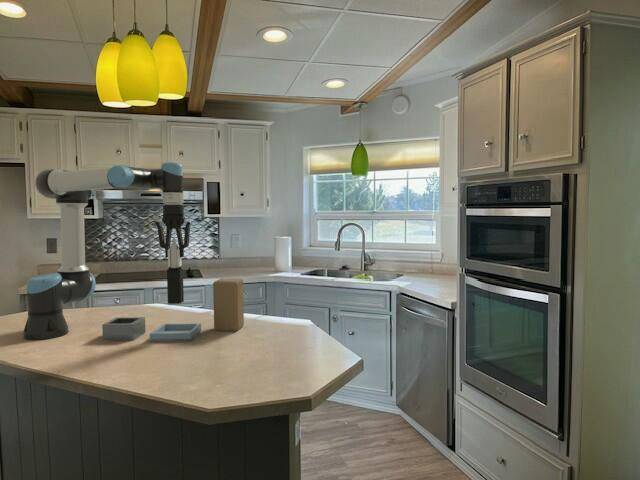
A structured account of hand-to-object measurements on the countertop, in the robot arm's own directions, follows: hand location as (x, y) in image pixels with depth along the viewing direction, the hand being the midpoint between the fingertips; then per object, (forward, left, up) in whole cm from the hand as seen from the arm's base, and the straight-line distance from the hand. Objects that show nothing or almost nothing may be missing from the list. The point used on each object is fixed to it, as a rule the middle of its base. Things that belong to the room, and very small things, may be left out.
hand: (174, 266), depth 174 cm
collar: (-20, 0, -27) cm, 34 cm away
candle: (0, 0, -14) cm, 14 cm away
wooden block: (+18, +11, -27) cm, 34 cm away
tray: (0, 0, -27) cm, 27 cm away
